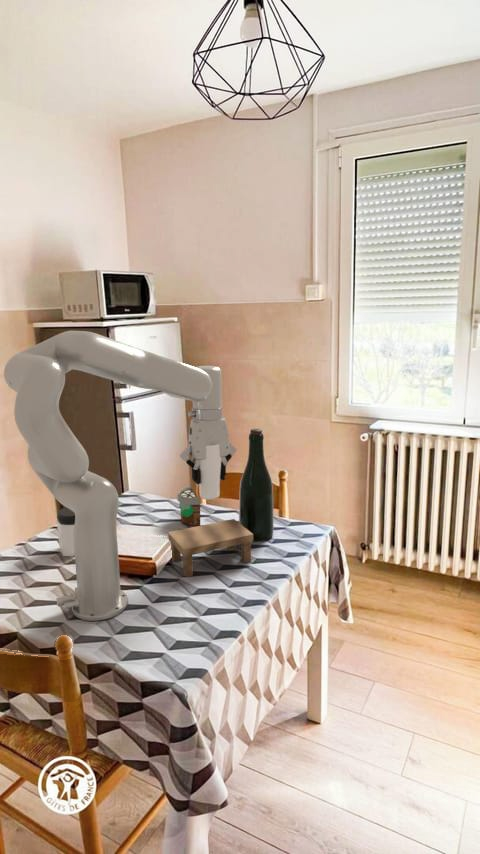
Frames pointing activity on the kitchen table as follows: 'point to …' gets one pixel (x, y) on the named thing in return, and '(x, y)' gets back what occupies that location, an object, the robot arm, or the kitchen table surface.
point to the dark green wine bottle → (256, 491)
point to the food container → (189, 507)
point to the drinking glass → (210, 473)
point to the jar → (66, 531)
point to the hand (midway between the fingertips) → (209, 480)
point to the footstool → (209, 541)
